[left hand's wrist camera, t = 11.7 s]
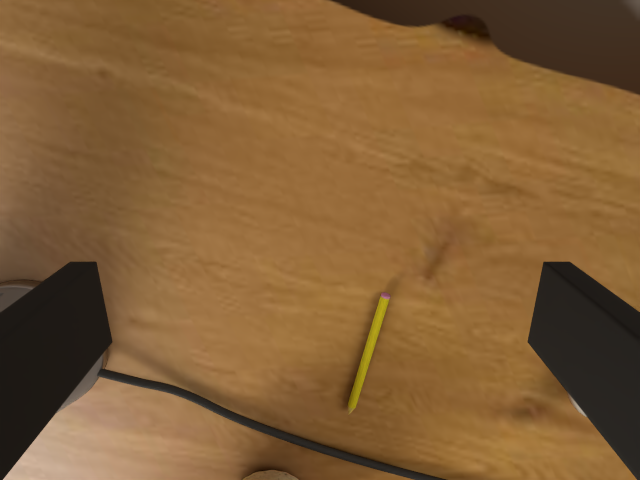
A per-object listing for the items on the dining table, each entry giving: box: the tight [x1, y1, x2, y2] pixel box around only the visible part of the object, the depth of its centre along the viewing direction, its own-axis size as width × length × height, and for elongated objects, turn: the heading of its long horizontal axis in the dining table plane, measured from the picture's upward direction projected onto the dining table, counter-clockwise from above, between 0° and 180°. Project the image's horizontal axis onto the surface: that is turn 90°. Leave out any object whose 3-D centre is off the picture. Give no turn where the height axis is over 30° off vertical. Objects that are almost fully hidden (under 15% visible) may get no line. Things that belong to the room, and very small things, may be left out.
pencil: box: [348, 293, 390, 414], centre depth 48 cm, size 16×1×1 cm, turn 168°
